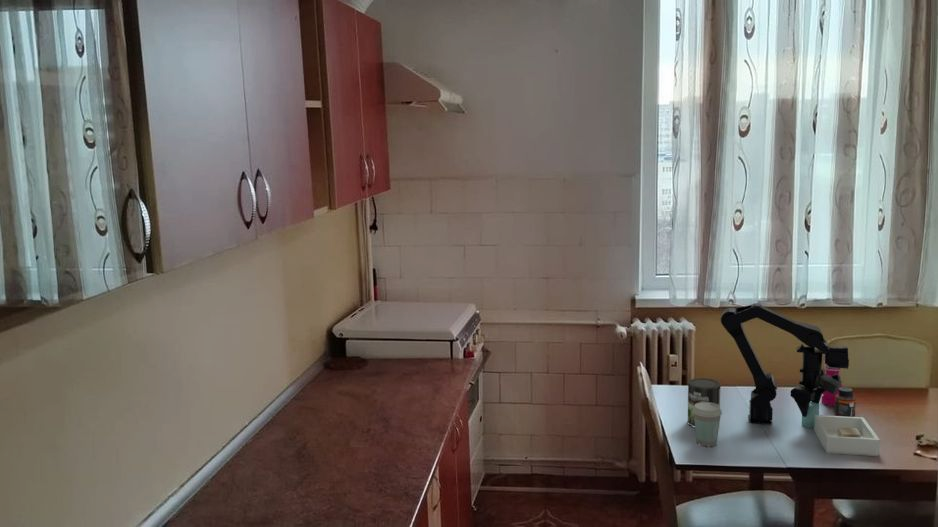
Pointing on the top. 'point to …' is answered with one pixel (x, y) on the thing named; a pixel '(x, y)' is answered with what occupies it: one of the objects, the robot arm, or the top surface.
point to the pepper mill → (827, 396)
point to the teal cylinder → (810, 415)
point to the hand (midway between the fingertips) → (810, 412)
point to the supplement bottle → (845, 403)
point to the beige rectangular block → (848, 432)
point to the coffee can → (702, 394)
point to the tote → (846, 445)
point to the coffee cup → (707, 423)
